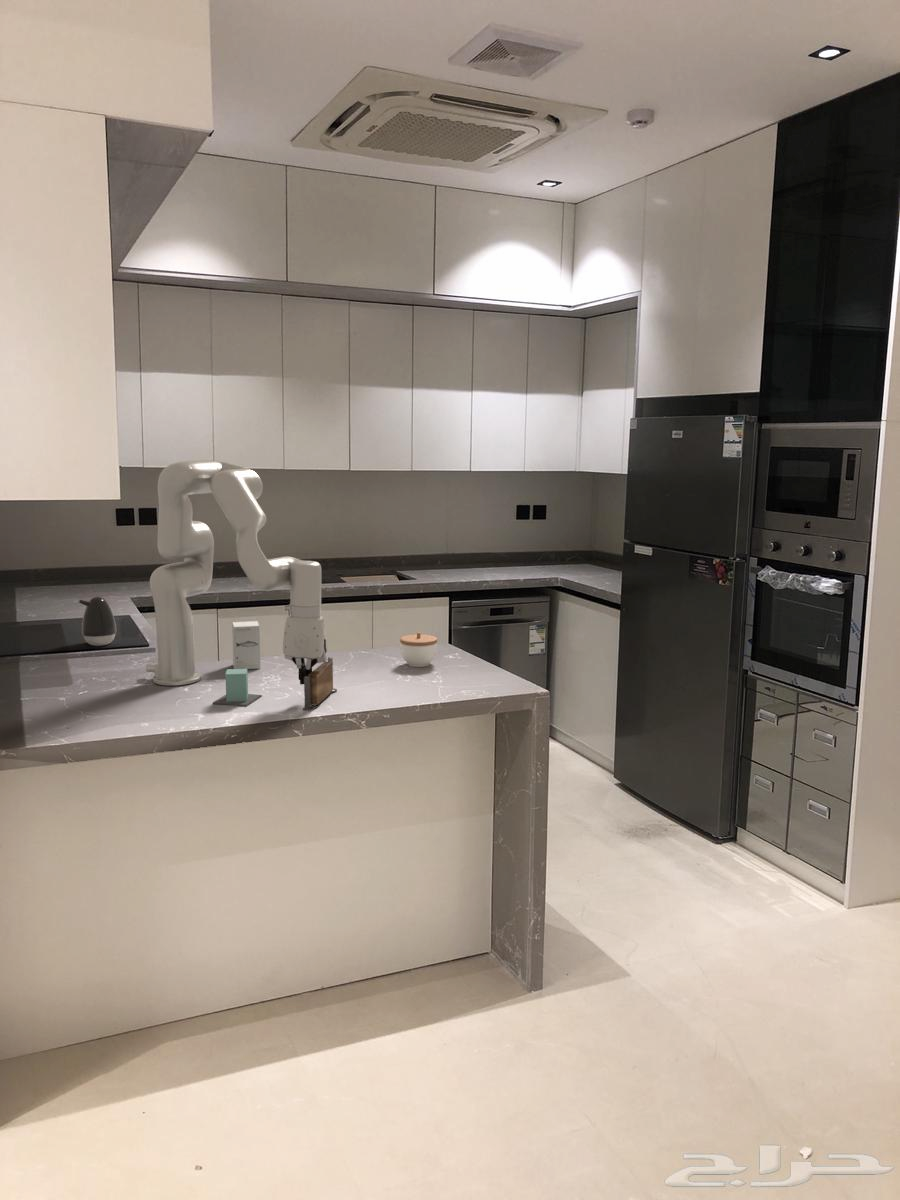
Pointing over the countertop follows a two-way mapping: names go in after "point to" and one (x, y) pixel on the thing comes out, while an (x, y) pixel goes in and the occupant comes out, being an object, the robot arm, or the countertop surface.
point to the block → (236, 685)
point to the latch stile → (308, 693)
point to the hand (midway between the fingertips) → (305, 683)
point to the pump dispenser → (98, 622)
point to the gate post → (332, 661)
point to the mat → (238, 703)
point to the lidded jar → (418, 649)
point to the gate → (322, 682)
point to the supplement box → (246, 645)
